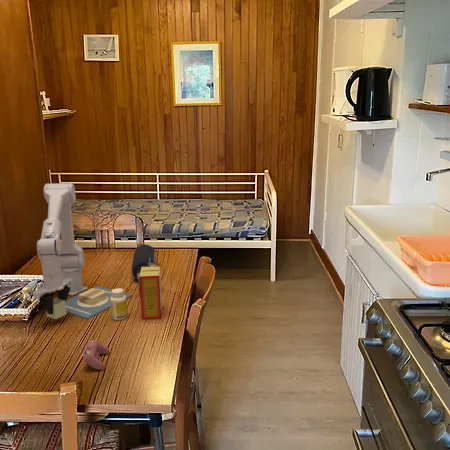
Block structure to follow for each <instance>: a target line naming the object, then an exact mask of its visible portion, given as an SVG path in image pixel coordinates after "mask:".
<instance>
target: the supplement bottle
mask: <svg viewBox="0 0 450 450" xmlns="http://www.w3.org/2000/svg"><path fill="white" fill-rule="evenodd" d="M111 290H112V296H111V298H110V306H111V308H110V317H111V319H112V320H114V321H115V320H116V321H121V320H124V319H126V318H127V317H128V306H127V303H128V302H127V299H126V296H125V295H123V294H124V289H123V288H119V287H118V288H114V289H111Z"/></svg>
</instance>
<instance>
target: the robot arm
mask: <svg viewBox="0 0 450 450" xmlns="http://www.w3.org/2000/svg"><path fill="white" fill-rule="evenodd" d="M43 196H44V199H45V200H46V201H45V202H46V204H48V207H47V209H48V211H47V218H46V219H45V220H44V221H43V224H42V229H41V236H40V239H37V241H36V252H37V255H38V257H39V262H40V263H41V271H42V278H43V286H41V287H40V288H38V289H37V290H35V291H33V292H32V295H33V298H34V299H37V300H40V302H42V303H41V304H43V306H44V308H45V311H47V312H46V314H47V313H48V314H51V315H52V314H53V299H55V297H54V296H53V295H51V293H53V292H56V296H57V298H59V299H62V300H65V302H66V300H68V296H74V295H75V296H76V295H78V294H80V293H83V292H85V290H86V291H87V290H89V289H88V286H83V284H84V283H83V277H82V276H83V275H82V269H83V267H84V266H85V262H86V261H85V254H84V250H83V247H82V246H79V245H78V244H76V243H75V235H74V233H75V232H74V223H73V213H72V204H74V203H76V201H77V200H76V199H77V197H76V189H75V184H73V183H72V182H69V183H67V182H66V183H65V182H64V183H63V182H62V183H45V185H44V186H43Z"/></svg>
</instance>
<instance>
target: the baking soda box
mask: <svg viewBox="0 0 450 450" xmlns="http://www.w3.org/2000/svg"><path fill="white" fill-rule="evenodd" d="M161 272H162V271H161V265H157V266H150V267H141V272H140V276H139V280H140V293H139V297H140V296H141V297H140V310H141V320H142V321H144V320H160V319H161V320H162V315H163V314H162V313H163V294H162V293H163V290H162V273H161Z"/></svg>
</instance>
